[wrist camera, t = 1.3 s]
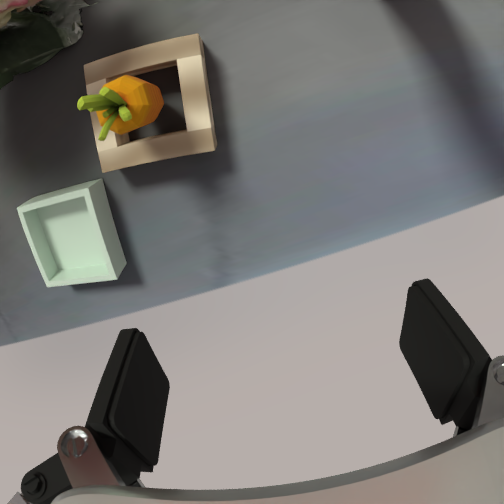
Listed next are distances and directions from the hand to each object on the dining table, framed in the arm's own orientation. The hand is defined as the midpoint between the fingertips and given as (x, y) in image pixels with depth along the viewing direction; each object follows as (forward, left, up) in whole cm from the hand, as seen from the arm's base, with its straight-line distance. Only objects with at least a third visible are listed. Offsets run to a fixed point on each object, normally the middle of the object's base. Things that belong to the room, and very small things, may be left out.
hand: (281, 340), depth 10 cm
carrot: (-9, -9, -27) cm, 30 cm away
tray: (+4, -23, -26) cm, 35 cm away
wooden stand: (-9, -9, -26) cm, 29 cm away
